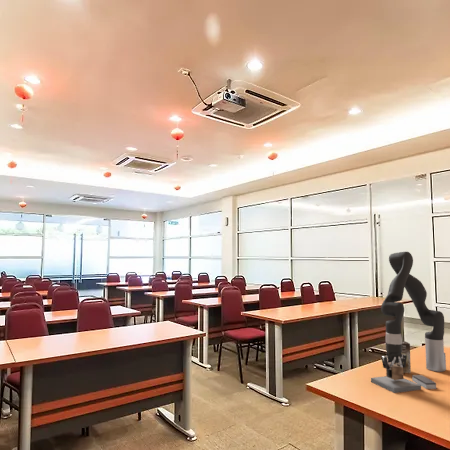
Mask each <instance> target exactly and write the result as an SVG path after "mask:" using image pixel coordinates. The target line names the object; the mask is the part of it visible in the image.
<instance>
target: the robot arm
mask: <svg viewBox="0 0 450 450" xmlns="http://www.w3.org/2000/svg"><path fill="white" fill-rule="evenodd" d="M388 263H389V264H390V267H391V268H392V270H393V271H394V272H395V274H396V276H395V277H394V278H393V279H392V280H391V282H390V283H389V288H388V292H387V295H386V296H385V298H384V300H383V302H382V303H381V306H380V311H381V313H382V314H383V315H384V316H388V317H389V316H390V317H395V318H394V319H392V320H391V319H390V320H386V321H385V351H386V355H381V357H380V358H381V362H382V367H383V368H384V369H385V370H386V369H387V376H388V377H390V378H392V370H391V369H392V366H393V365H394V363H396V364H397V366H400V367H403V368H404V367H406V360H407V355H404V354H401V353H402V341H403V338H402V322H403V321H402V320H403V316H404V314H405V306H404V304H403V303H401V301H402V300H403V297H404V291H406V293H407V294H408V297H409V298H410V299H411V301H412V304H413V305H414V307H415V309H416V312H417V313H418V316H419V319H420V321H421V322H422V324H424V325H425V326H429V327H432V330H431V331H426V332H425V334H424V343H425V346H424V347H425V364H426V365H425V367H426V369H427V370H429V371H432V372H440V373H441V372H446V370H447V359H446V352H445V348H444V347H445V345H444V344H445V343H444V335H445V316H444V314H443V312H442V311H440V310H435V309H429V307H427V304H426V300H427V296H428V293H427V289H426V288H425V286H424V284H423V282H422V281H421V280H420V279H419V278H416V277H415V276H414V275H412V274H411V270H412V268H413V265H414V258H413V255H412V253H411V252H409V251H400V252H394V253H391V254H390V255H388ZM390 362H391V363H390ZM403 362H404V363H403ZM389 365H390V367H389Z"/></svg>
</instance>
